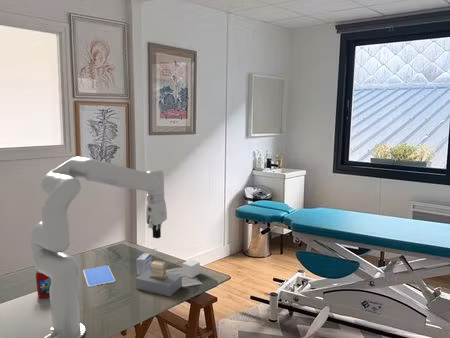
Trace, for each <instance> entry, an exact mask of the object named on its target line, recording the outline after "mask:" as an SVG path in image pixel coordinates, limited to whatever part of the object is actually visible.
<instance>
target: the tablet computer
mask: <svg viewBox="0 0 450 338" xmlns="http://www.w3.org/2000/svg"><path fill="white" fill-rule="evenodd" d="M82 273H83V275H84V279H85V281H86V285H87V287H88V288H92V287H96V286H97V285H98V286H101V284H103V285H107V284H106V283H108V284H112V283H116V278H115V277H114V275H113V272H112V271H111V268H110V266H109V265H101V266H97V267H92V268H85V269H83V270H82Z"/></svg>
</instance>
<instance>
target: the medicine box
mask: <svg viewBox="0 0 450 338" xmlns="http://www.w3.org/2000/svg"><path fill="white" fill-rule="evenodd" d="M151 256H152V255H151V253H147V252H146V253H144V252H143V253H141V255H139V257H138V258H136V263H135V264H136V274H137V275H136V277H138V276H140V275H141V274H142V273H144V272H145V271H147V270H148V269H150V270H151V262H152V257H151Z"/></svg>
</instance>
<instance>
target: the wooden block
mask: <svg viewBox="0 0 450 338" xmlns="http://www.w3.org/2000/svg"><path fill="white" fill-rule="evenodd" d="M166 273H167V264H166V261H165V262H164V261H159V260H153V261H151V278H153V279H157V280H162V281H163V280H165V279H166Z"/></svg>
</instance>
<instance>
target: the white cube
mask: <svg viewBox="0 0 450 338" xmlns="http://www.w3.org/2000/svg"><path fill="white" fill-rule="evenodd" d="M200 263H201V262H199V261H197V260H194V259H188V260H186V261H184V262H182V265H181V266H182V275H184V276H185V275H186V277H188V278H190V277H191V279H192V278H194V277H196V276H198V275H200V273H201V267H200V266H201V264H200Z"/></svg>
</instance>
